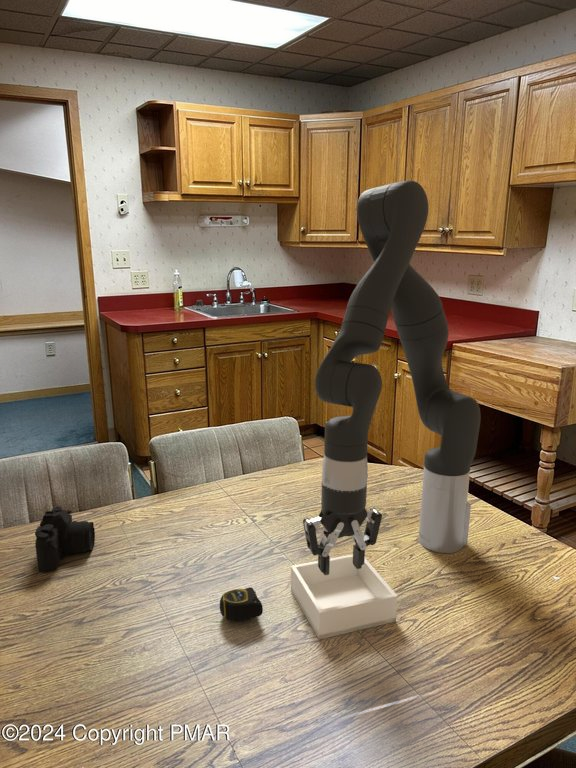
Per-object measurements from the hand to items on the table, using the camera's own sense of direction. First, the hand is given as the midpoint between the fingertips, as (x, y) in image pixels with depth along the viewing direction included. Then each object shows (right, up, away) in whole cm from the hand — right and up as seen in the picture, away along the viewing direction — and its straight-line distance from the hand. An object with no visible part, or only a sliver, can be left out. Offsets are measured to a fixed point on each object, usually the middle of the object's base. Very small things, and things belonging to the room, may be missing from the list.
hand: (340, 569), depth 99 cm
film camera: (-54, -3, +18) cm, 57 cm away
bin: (0, -7, +2) cm, 7 cm away
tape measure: (-14, -8, -2) cm, 16 cm away
